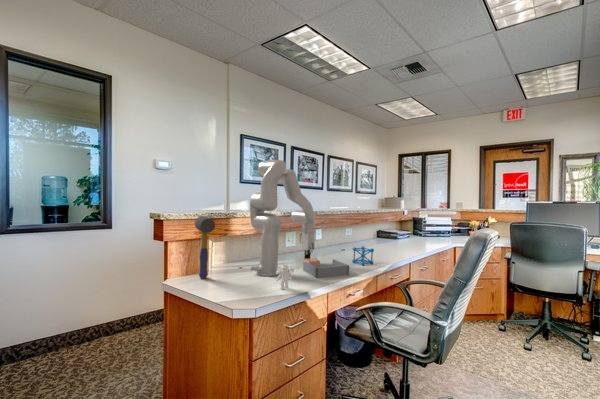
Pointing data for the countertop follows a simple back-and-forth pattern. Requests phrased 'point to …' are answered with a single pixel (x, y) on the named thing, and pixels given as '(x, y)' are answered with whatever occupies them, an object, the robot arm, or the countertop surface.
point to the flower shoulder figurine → (284, 275)
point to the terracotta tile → (313, 262)
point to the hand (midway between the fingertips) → (307, 260)
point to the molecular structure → (363, 255)
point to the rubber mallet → (204, 242)
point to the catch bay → (327, 269)
